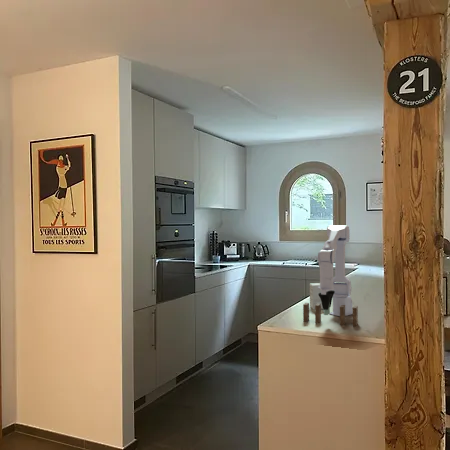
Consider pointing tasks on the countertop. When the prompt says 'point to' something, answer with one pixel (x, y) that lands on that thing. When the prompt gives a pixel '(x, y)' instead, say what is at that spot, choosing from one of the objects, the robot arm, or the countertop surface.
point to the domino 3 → (327, 310)
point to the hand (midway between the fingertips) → (326, 308)
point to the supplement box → (315, 295)
